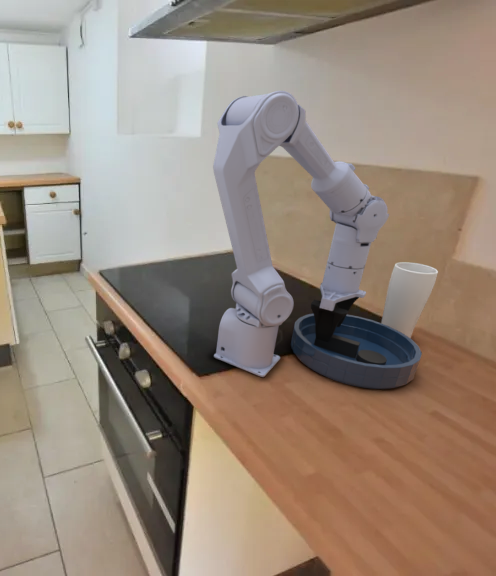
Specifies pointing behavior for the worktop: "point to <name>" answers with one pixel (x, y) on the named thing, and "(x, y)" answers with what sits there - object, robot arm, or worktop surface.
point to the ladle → (351, 350)
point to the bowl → (347, 369)
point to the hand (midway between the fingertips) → (328, 332)
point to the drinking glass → (407, 295)
